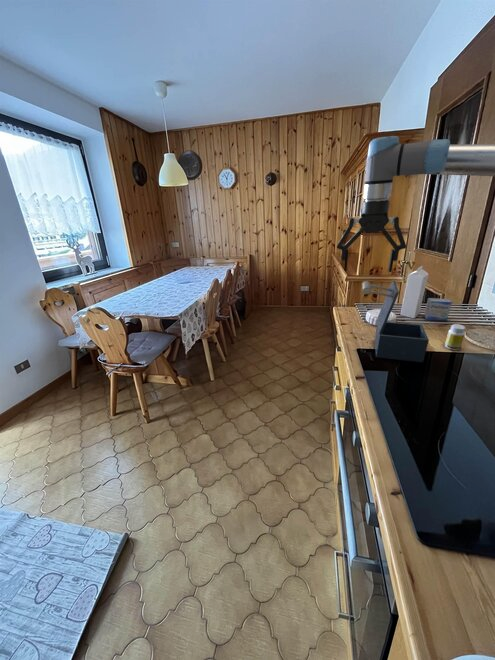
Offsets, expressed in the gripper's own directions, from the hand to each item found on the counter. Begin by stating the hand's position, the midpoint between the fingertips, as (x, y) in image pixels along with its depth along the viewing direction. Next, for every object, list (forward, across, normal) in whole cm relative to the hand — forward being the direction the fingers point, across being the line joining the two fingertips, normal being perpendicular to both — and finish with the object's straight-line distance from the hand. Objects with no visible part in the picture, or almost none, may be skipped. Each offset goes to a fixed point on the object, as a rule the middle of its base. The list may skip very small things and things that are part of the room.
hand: (367, 270), depth 93 cm
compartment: (+30, -14, 0) cm, 33 cm away
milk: (+30, -22, -34) cm, 51 cm away
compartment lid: (+13, -8, 0) cm, 15 cm away
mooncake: (+30, -10, -25) cm, 40 cm away
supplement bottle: (+30, -32, -7) cm, 45 cm away
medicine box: (+30, -32, -32) cm, 55 cm away
